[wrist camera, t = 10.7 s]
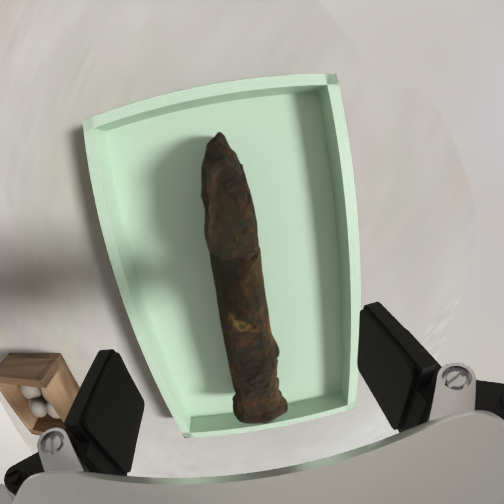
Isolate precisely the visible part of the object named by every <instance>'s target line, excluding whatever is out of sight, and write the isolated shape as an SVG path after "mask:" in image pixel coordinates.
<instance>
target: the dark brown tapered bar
mask: <svg viewBox="0 0 504 504" xmlns="http://www.w3.org/2000/svg"><path fill="white" fill-rule="evenodd" d="M201 186H202V187H201V198H202V201H203V205H204V208H205V223H204V235H205V239H206V243H207V247H208V250H209V252H210V262H211V267H212V273H213V278H214V285H215V288H216V296H217V304H218V309H219V317H220V323H221V328H222V332H223V339H224V344H225V349H226V353H227V359H228V364H229V370H230V374H231V378H232V383H233V389H234V391H235V395H234V396H233V398H232V400H233V413H234V415H235V416H236V418H237V420H239V422H242V423H245V424H258V423H264V424H267V423H270V422H271V421H273V420H275V419H276V418H277V417H279V416H281V415H283V414H284V413H286V412H287V411H288V403H287V400H286V399H285V398H284V397H283V396H282V392H281V391H280V390H279V378H278V377H277V364H278V359H277V358H278V357H279V354H280V350H279V347H278V345H277V342H276V341H275V339H274V337H273V335H272V332H271V327H270V320H269V311H268V305H267V300H266V293H265V287H264V277H263V272H262V260H261V249H260V247H259V239H258V228H257V219H256V214H255V208H254V205H253V200H252V196H251V192H250V189H249V186H248V182H247V179H246V175H245V172H244V169H243V164H241V163H240V161H239V159H238V157H237V154H236V152H234V151H233V150H232V149H231V148H230V146H229V144H228V142H227V140H226V137H225V135H224V134H222V133H221V132H217V134H216V135H215V137H213V138H212V139H211V140H210V141H209V142H208V143H207V146H206V150H205V155H204V159H203V162H202V166H201Z"/></svg>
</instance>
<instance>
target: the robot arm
mask: <svg viewBox="0 0 504 504" xmlns="http://www.w3.org/2000/svg"><path fill="white" fill-rule="evenodd" d="M357 366H358V370H359V372H360V373H361V375H362V377H363V378H364V380H365V382H366V383H367V385H368V387H369V389H370V390H371V392H372V394H373V395H374V397H375V399H376V401H377V402H378V404H379V406H380V407H381V409H382V411H383V413H384V414H385V416H386V418H387V420H388V421H389V423H390V425H391V427H392V428H393V429H394V430H396V429H398V431H399V433H398V434H396V435H393V436H391V437H388V438H385V439H383V440H380V441H377V442H374V443H372V444H369V445H366V446H363V447H360V448H357V449H354V450H351V451H348V452H344V453H341V454H338V455H334V456H331V457H327V458H323V459H320V460H316V461H312V462H307V463H303V464H299V465H294V466H289V467H284V468H279V469H273V470H267V471H261V472H254V473H247V474H238V475H229V476H217V477H200V478H148V477H132V476H127V472H130V471H131V467H132V462H133V457H134V452H135V447H136V442H137V438H138V433H139V428H140V424H141V420H142V415H143V411H144V400H143V398H142V396H141V394H140V392H139V391H138V389H137V387H136V385H135V383H134V381H133V380H132V378H131V376H130V374H129V372H128V370H127V368H126V366H125V364H124V362H123V360H122V358H121V356H120V354H119V353H116V352H115V351H114V350H113V349H110V350H100V351H99V352H98V354H97V356H96V358H95V360H94V361H93V363H92V365H91V367H90V369H89V371H88V373H87V375H86V377H85V379H84V381H83V383H82V385H81V387H80V389H79V391H78V393H77V395H76V398H75V400H74V402H73V404H72V406H71V408H70V410H69V413H68V415H67V417H66V419H65V421H64V425H65V426H66V427H65V429H64V430H63V429H61V428H51V429H49V430H47V431H45V432H44V433H43V434H42V435H41V436H40V438H39V440H38V443H37V448H38V452H37V453H35V454H33V455H32V456H30V457H28V458H26V459H24V460H23V461H21V462H19V463H17V464H16V465H13V466H12V467H10V468H9V469H8V470H7V472H6V474H5V478H4V482H5V486H4V485H3V484H0V504H504V384H502V383H494V382H487V381H479V380H476V377H475V373H474V372H473V370H472V369H470V367H468V366H467V365H464V364H461V363H450V364H447V365H445V366H443V367H441V366H440V365H439V364H438V362H437V361H436V360H435V359H434V358H433V357H432V356H431V355H430V354H429V353H428V351H427V350H426V349H425V348H424V347H423V346H422V345H421V344H420V343H419V342H418V341H417V340H416V339H415V337H414V336H413V335H412V334H411V333H410V332H409V331H408V330H407V329H405V328H404V327H403V326H402V325H401V324H400V323H399V322H398V321H397V320H396V319H395V318H394V317H393V316H392V315H391V314H390V313H389V312H388V310H387V309H386V308H385V307H384V306H383V305H382V304H381V303H379V302H375V303H371V304H368V305H365V306H364V308H363V310H361V311H360V317H359V340H358V356H357Z"/></svg>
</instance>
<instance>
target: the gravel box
mask: <svg viewBox="0 0 504 504" xmlns="http://www.w3.org/2000/svg"><path fill="white" fill-rule="evenodd" d="M79 389H80V387H79V386H78V384H77V382H76V381H75V379H74V377H73V375H72V374H71V372H70V370H69V368H68V366H67V365H66V363H65V361H64V359H63V357H62V355H61V354H9V355H8V356H7V357H6V358H5V359H4V360H3V361H2V363H1V364H0V391H1V393H2V394H3V396H4V397H5V399H6V400H7V402H8V403H9V404H10V406H11V407H12V409H13V410H14V411H15V413H16V414H17V415H18V417H19V418H20V419H21V421H22V422H23V423H24V425H25V426H26V427H27V428H28V430H29V431H30V432H31V433H32V434H35V435H40V436H41V435H42V434H43V433H44V432H45V431H47V430H49V429H51V428H61V429H63V430H64V429H65V427H66V426H65V425H64V421H65V419H66V417H67V415H68V413H69V410H70V408H71V406H72V404H73V402H74V400H75V398H76V395H77V393H78V391H79Z"/></svg>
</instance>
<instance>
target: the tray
mask: <svg viewBox="0 0 504 504" xmlns="http://www.w3.org/2000/svg"><path fill="white" fill-rule="evenodd" d="M82 122H83V131H84V139H85V147H86V154H87V160H88V167H89V172H90V178H91V183H92V189H93V194H94V199H95V203H96V208H97V212H98V217H99V221H100V225H101V229H102V233H103V237H104V241H105V245H106V248H107V252H108V255H109V259H110V262H111V266H112V269H113V272H114V276H115V279H116V282H117V285H118V288H119V291H120V294H121V297H122V300H123V303H124V306H125V309H126V311H127V314H128V317H129V320H130V322H131V325H132V328H133V330H134V333H135V335H136V338H137V340H138V343H139V345H140V348H141V350H142V352H143V355H144V357H145V359H146V362H147V364H148V366H149V369H150V371H151V373H152V375H153V377H154V380H155V382H156V384H157V386H158V388H159V390H160V392H161V394H162V396H163V398H164V400H165V402H166V404H167V406H168V408H169V410H170V412H171V414H172V416H173V418H174V420H175V422H176V424H177V425H178V427H179V429H180V431H181V433H182V434H183V436H184V438H190V437H206V436H217V435H227V434H236V433H243V432H250V431H257V430H263V429H269V428H275V427H280V426H285V425H290V424H295V423H300V422H304V421H308V420H313V419H317V418H321V417H324V416H328V415H332V414H336V413H339V412H343V411H346V410H349V409H353V408H355V402H356V391H357V380H358V366H357V356H358V340H359V317H360V311H361V283H360V250H359V232H358V218H357V205H356V195H355V185H354V176H353V168H352V160H351V153H350V146H349V139H348V132H347V126H346V120H345V115H344V109H343V104H342V99H341V94H340V89H339V84H338V79H337V75H336V74H301V75H284V76H271V77H261V78H252V79H244V80H237V81H230V82H224V83H217V84H212V85H206V86H201V87H196V88H191V89H186V90H182V91H177V92H173V93H169V94H165V95H161V96H157V97H153V98H150V99H146V100H143V101H139V102H136V103H132V104H129V105H126V106H123V107H120V108H117V109H114V110H111V111H108V112H105V113H102V114H99V115H97V116H94V117H91V118H89V119H86V120H83V121H82ZM217 132H221V133H222V134H224V135H225V137H226V140H227V142H228V144H229V146H230V148H231V149H232V150H233V151H234V152H236V154H237V157H238V159H239V161H240V163H241V164H243V169H244V172H245V175H246V179H247V182H248V186H249V189H250V192H251V196H252V200H253V205H254V208H255V214H256V219H257V228H258V239H259V247H260V249H261V260H262V272H263V277H264V287H265V293H266V300H267V305H268V311H269V320H270V327H271V332H272V335H273V337H274V339H275V341H276V342H277V345H278V347H279V350H280V354H279V357H278V358H277V359H278V364H277V377H278V378H279V390H280V391H281V392H282V396H283V397H284V398H285V399H286V400H287V403H288V411H287V412H286V413H284V414H283V415H281V416H279V417H277V418H276V419H275V420H273V421H271V422H270V423H267V424H264V423H258V424H245V423H242V422H239V420H237V418H236V416H235V415H234V413H233V400H232V398H233V396H234V395H235V391H234V389H233V383H232V378H231V374H230V370H229V364H228V359H227V353H226V349H225V344H224V339H223V332H222V328H221V323H220V317H219V309H218V304H217V296H216V288H215V285H214V278H213V273H212V267H211V262H210V252H209V250H208V247H207V243H206V239H205V235H204V223H205V208H204V205H203V201H202V198H201V187H202V186H201V166H202V162H203V159H204V155H205V150H206V146H207V143H208V142H209V141H210V140H211V139H212V138H213V137H215V135H216V134H217Z"/></svg>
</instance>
